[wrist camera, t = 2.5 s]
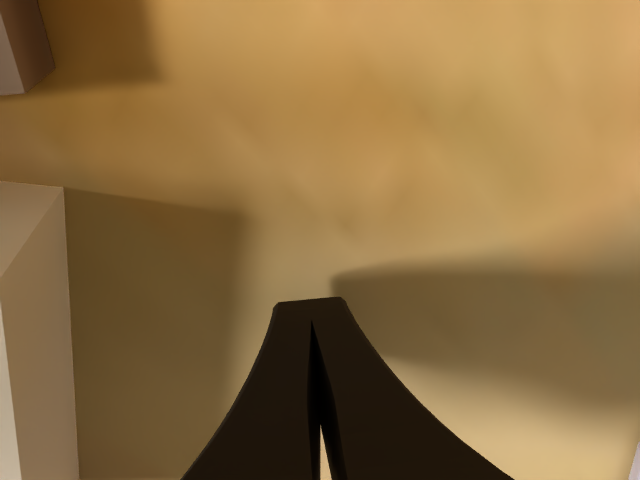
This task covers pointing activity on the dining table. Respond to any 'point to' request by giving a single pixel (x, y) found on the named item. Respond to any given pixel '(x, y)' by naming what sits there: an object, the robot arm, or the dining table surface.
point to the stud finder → (35, 337)
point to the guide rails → (22, 47)
